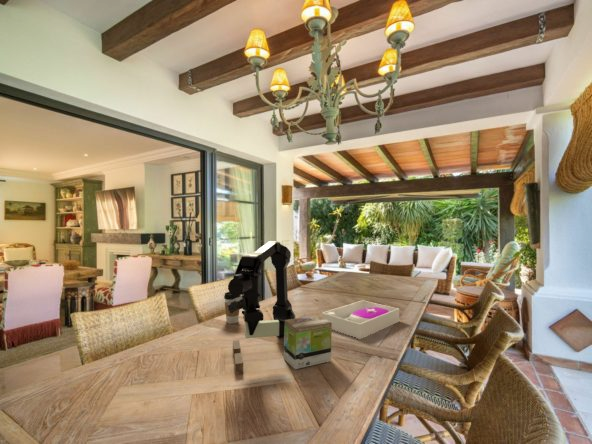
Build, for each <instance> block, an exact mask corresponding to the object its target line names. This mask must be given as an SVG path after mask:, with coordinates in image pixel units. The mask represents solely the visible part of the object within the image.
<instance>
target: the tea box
mask: <svg viewBox="0 0 592 444" xmlns="http://www.w3.org/2000/svg"><path fill="white" fill-rule="evenodd" d="M332 331H333V330H332V323H331V322H330V321H328V320H326V319H324V318H322V315H321V316H320V315H318V314H317V315H311V316H303V317H295V319H289V320H285V325H284V338H283V359H284V361H286V362H287V363H288V365H290V366H291V368H292V369H294V370H295V371H296V370H298V369H302V368H303V369H304V368H307V367H311V366H316V365H320V364H324V363H325V362H326V363H330V362H331V361H332V360H331V358H332ZM329 361H330V362H329Z"/></svg>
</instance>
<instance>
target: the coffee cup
mask: <svg viewBox="0 0 592 444" xmlns="http://www.w3.org/2000/svg"><path fill="white" fill-rule="evenodd" d="M241 296H242V294H241V295H239V296H233V295H232V294H231V293H230V292H229V291H227V292H224V297H223V298H224V306H225V307H224V308H225V318H226V323H227V324H230V325H232V324H237V323H239V319H240V317H239V315H240V309H239V310H237V311H234V312H233V313H230V312H229V310H228V307H227V302H228V301H230V300H233V299H235V298H238V297H241Z"/></svg>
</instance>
